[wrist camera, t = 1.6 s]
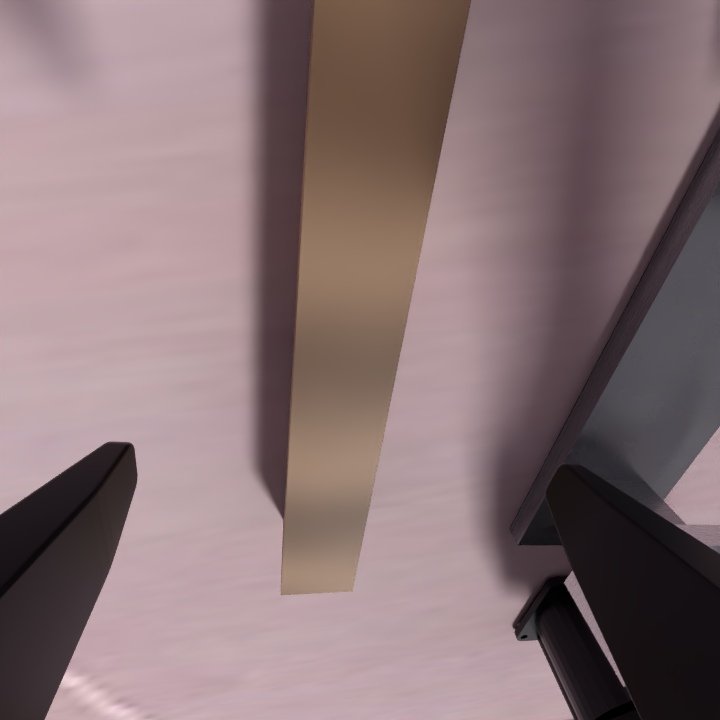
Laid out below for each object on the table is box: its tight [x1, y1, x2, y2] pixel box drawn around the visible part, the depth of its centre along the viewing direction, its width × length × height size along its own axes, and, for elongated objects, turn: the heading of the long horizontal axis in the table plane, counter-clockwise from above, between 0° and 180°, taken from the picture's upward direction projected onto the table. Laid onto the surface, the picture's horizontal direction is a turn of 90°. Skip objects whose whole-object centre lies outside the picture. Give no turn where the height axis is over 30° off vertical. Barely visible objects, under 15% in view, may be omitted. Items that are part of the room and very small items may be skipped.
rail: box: [281, 0, 471, 595], centre depth 14 cm, size 22×3×4 cm, turn 173°
